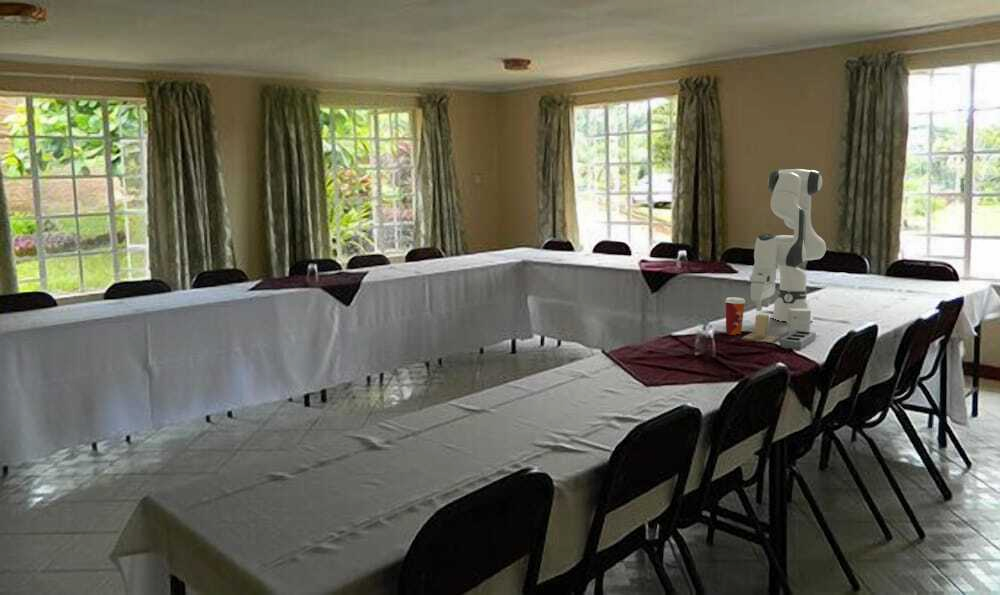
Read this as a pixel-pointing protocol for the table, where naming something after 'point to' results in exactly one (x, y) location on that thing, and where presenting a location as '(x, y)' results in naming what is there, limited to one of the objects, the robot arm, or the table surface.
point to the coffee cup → (734, 315)
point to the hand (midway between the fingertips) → (762, 308)
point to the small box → (798, 320)
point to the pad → (752, 338)
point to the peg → (761, 326)
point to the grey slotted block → (797, 339)
